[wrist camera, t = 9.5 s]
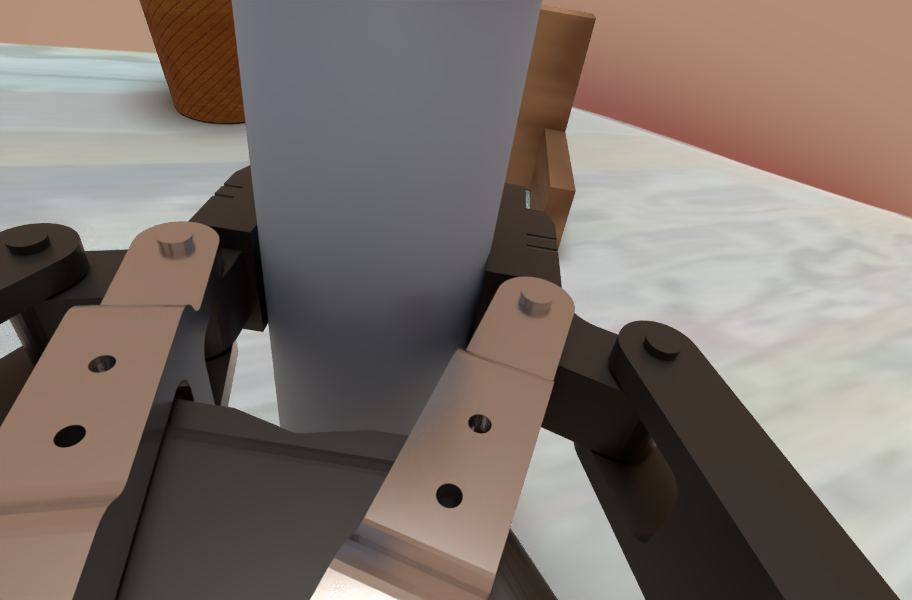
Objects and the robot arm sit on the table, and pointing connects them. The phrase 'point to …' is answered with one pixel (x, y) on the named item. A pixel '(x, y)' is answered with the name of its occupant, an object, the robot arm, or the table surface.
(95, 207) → the table surface
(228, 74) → the disposable coffee cup
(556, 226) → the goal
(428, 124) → the player figure
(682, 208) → the table surface
